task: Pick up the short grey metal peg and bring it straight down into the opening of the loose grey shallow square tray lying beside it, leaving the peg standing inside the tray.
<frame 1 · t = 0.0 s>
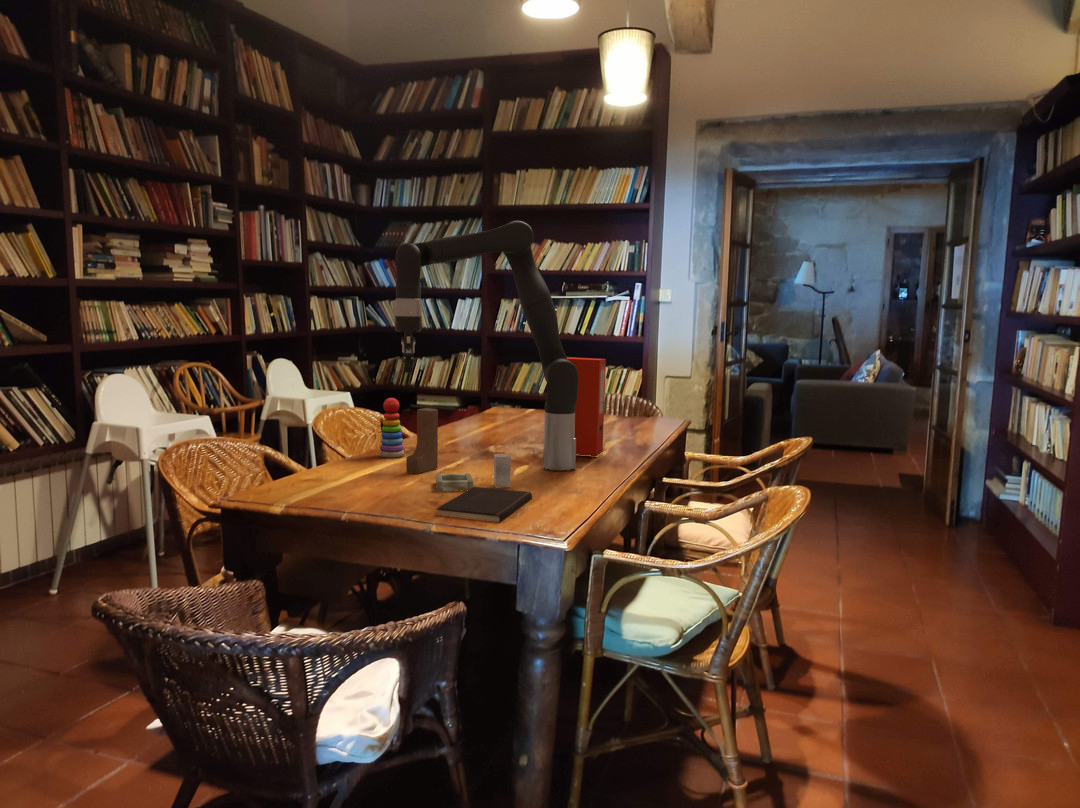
hand: (408, 371, 220), 29 cm above the table, tool pointing down, fingers open, 8 cm apart
wooden block: (422, 471, 224), on the table
file binder: (574, 454, 255), on the table
hardcover book: (486, 509, 186), on the table
stacking toy: (392, 456, 244), on the table
metal peg: (501, 486, 208), on the table
grey shallow square tray: (454, 486, 205), on the table
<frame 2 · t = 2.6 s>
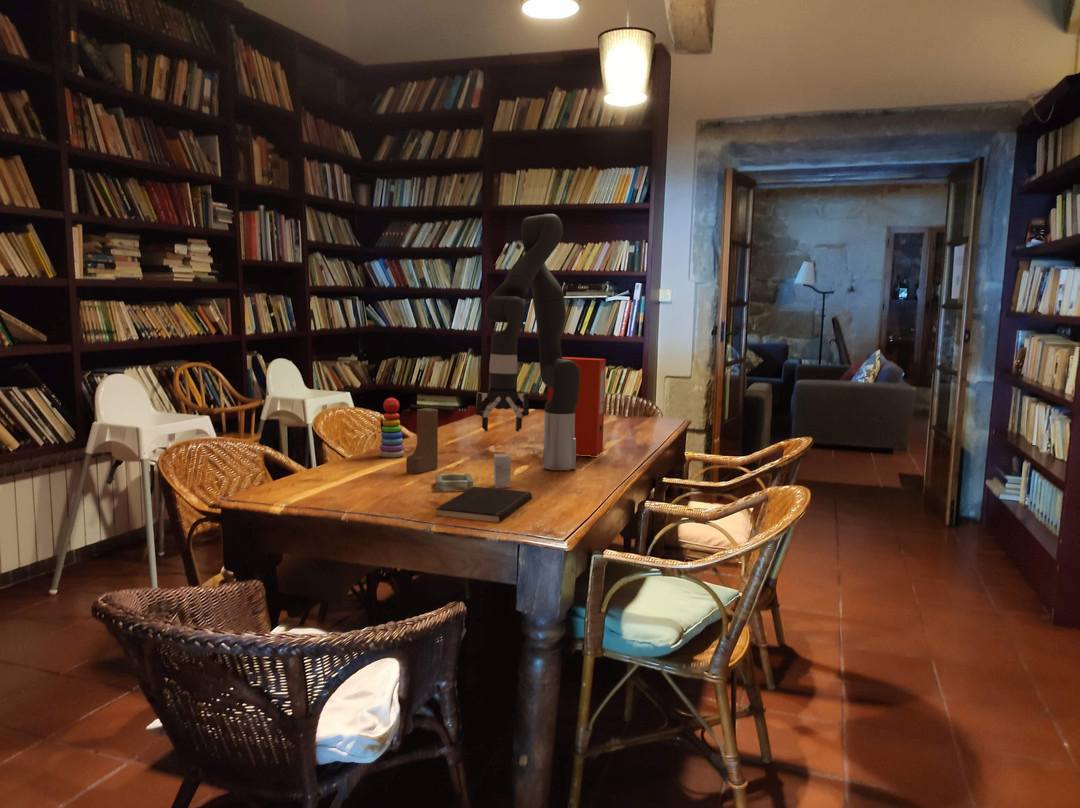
hand: (501, 431, 206), 15 cm above the table, tool pointing down, fingers open, 8 cm apart
nothing on the table moved.
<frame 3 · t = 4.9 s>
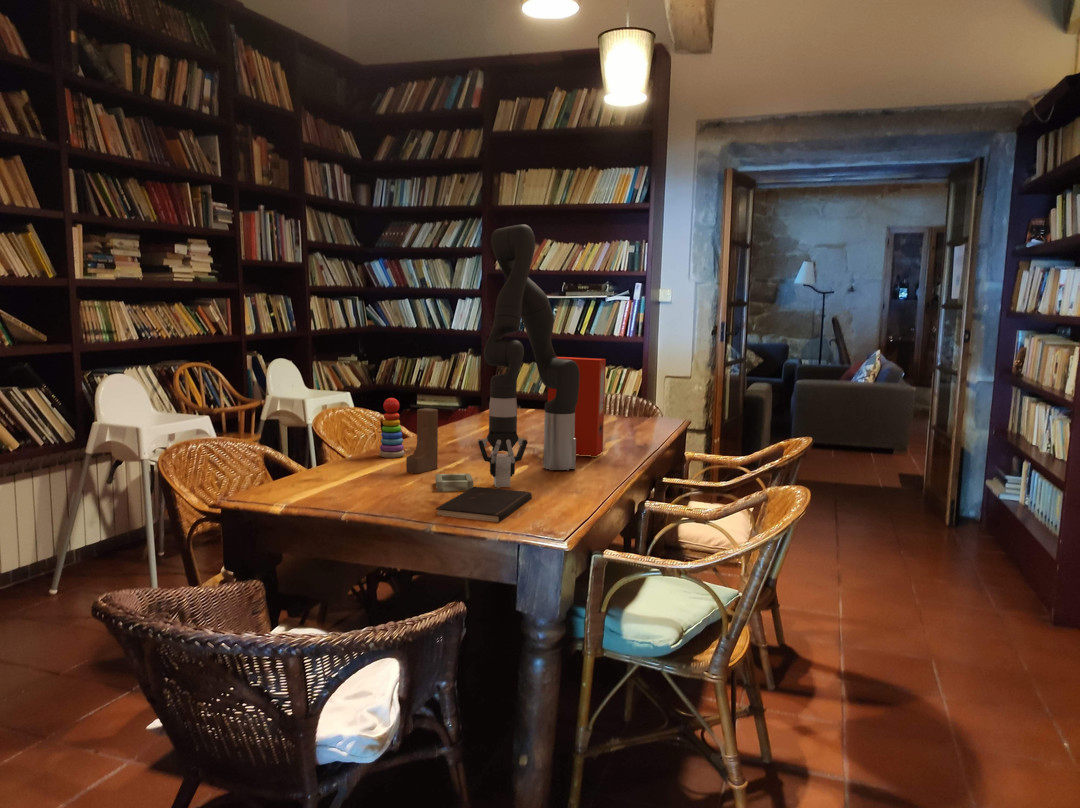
hand: (502, 475, 207), 3 cm above the table, tool pointing down, fingers closed on metal peg, 4 cm apart
metal peg: (502, 485, 208), on the table, touching gripper
everything else where it was.
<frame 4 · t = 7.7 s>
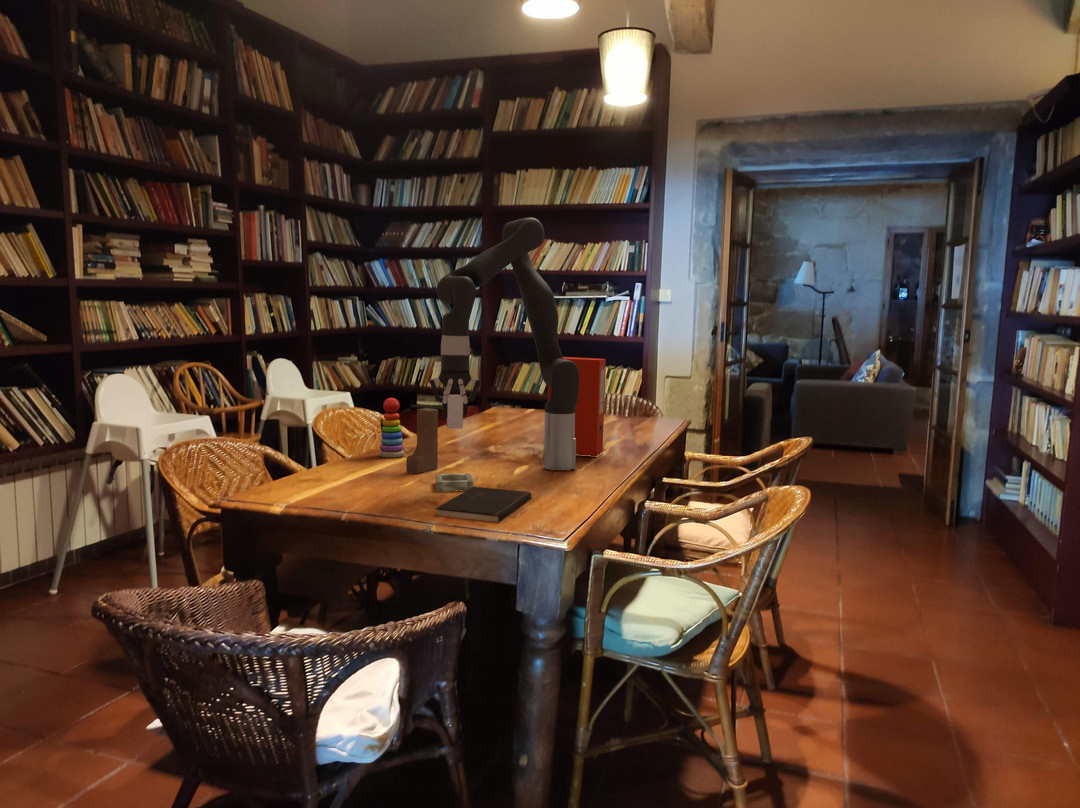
hand: (454, 416, 203), 19 cm above the table, tool pointing down, fingers closed on metal peg, 4 cm apart
metal peg: (454, 427, 203), point 16 cm above the table, touching gripper
everything else where it was.
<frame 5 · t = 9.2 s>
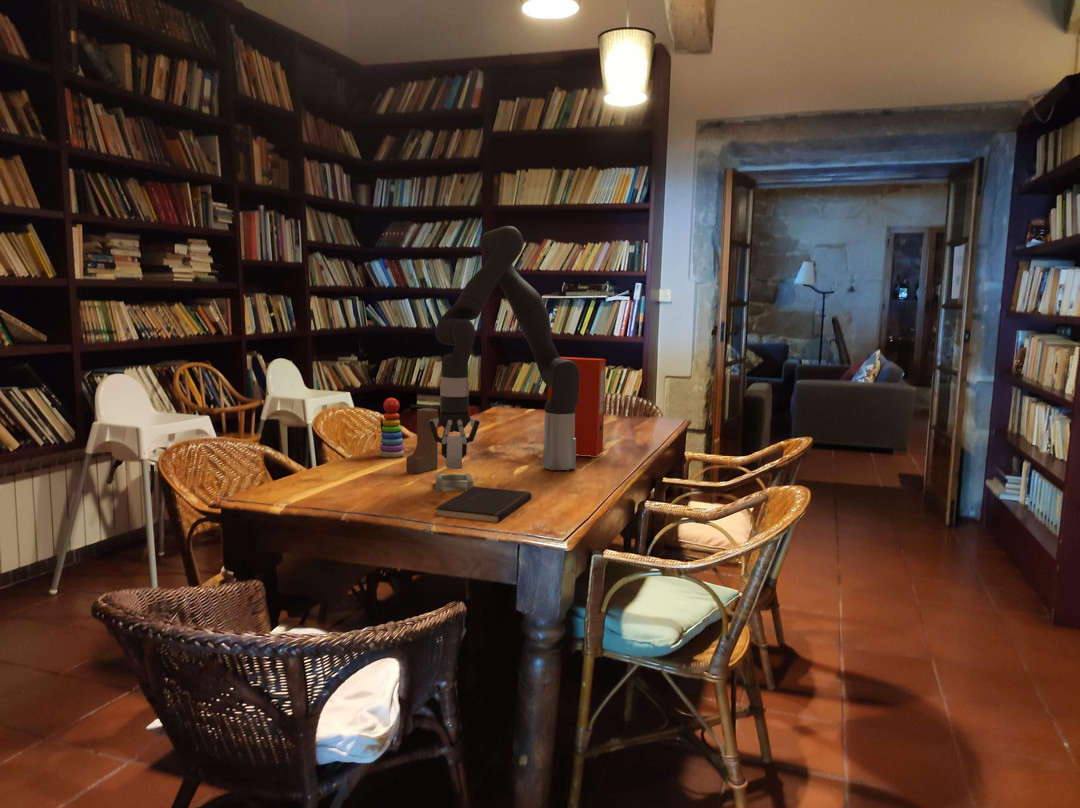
hand: (453, 457, 204), 8 cm above the table, tool pointing down, fingers closed on metal peg, 4 cm apart
metal peg: (453, 467, 205), point 5 cm above the table, touching gripper
everything else where it was.
when the fingers open (5 cm above the table, at t = 10.6 s): metal peg drops 2 cm, resting in grey shallow square tray.
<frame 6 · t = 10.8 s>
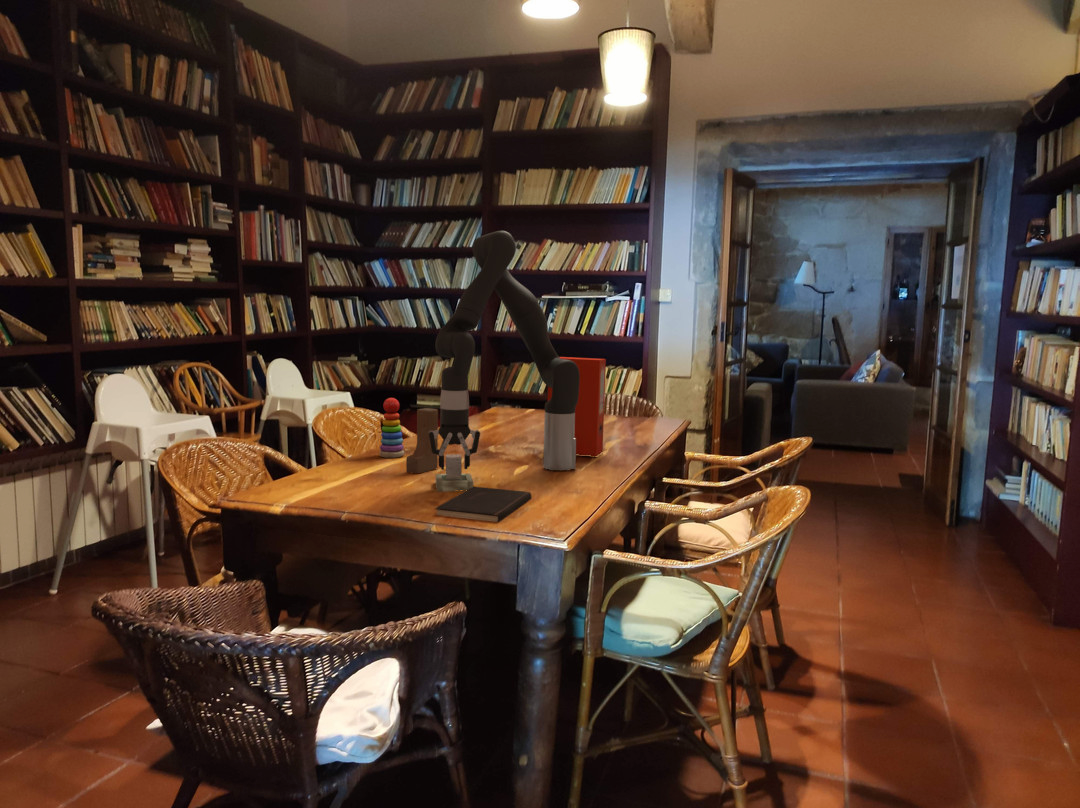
hand: (454, 468, 205), 5 cm above the table, tool pointing down, fingers open, 5 cm apart
metal peg: (453, 486, 205), resting in grey shallow square tray
everything else where it was.
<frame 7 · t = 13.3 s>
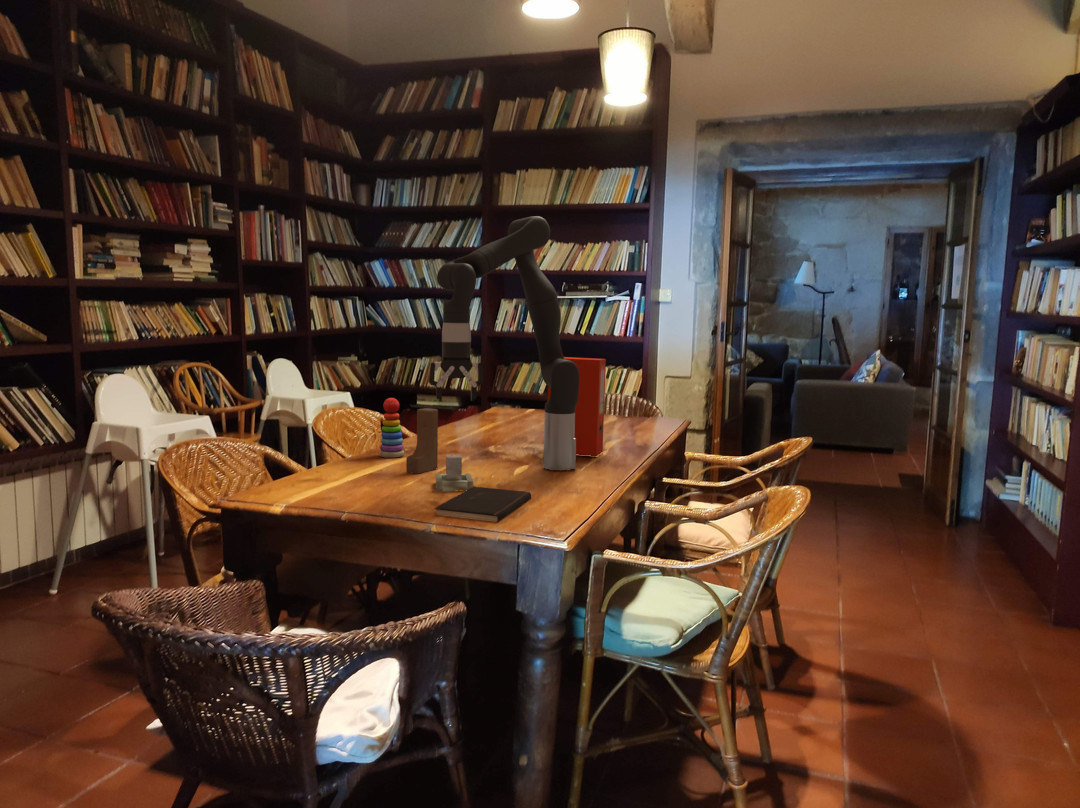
hand: (456, 401, 203), 23 cm above the table, tool pointing down, fingers open, 8 cm apart
nothing on the table moved.
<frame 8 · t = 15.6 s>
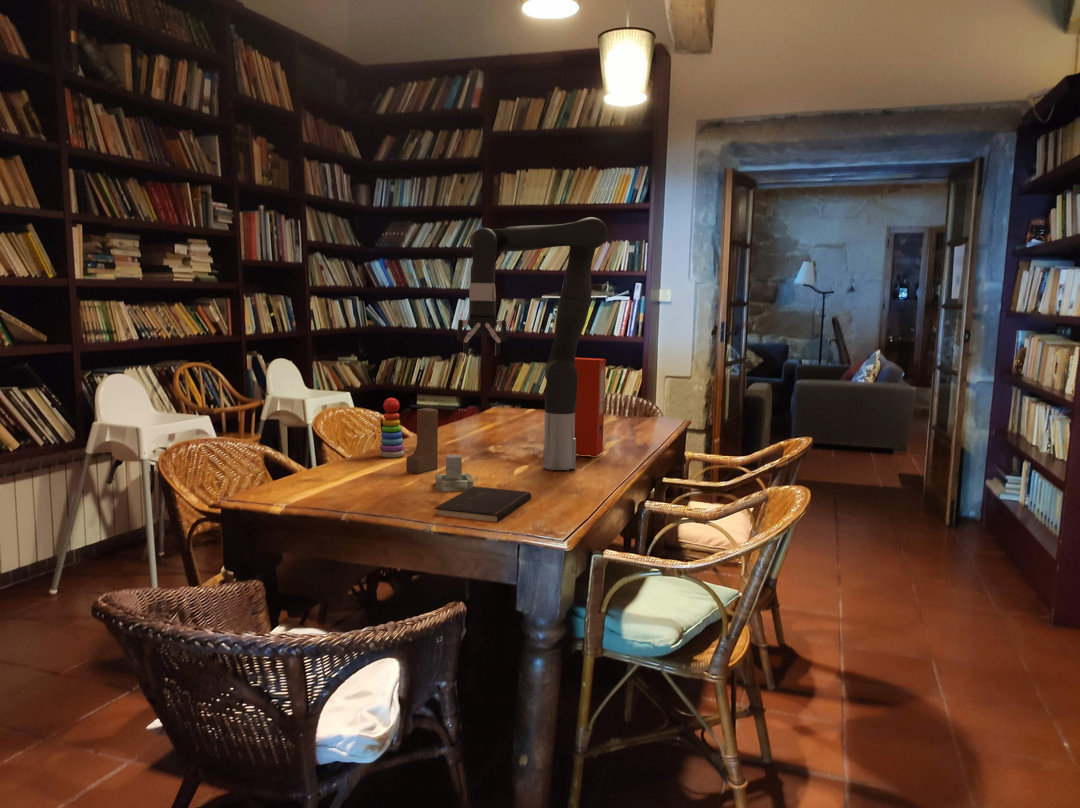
hand: (481, 355, 221), 34 cm above the table, tool pointing down, fingers open, 8 cm apart
nothing on the table moved.
at the end: metal peg 0.1 cm from the grey shallow square tray (horizontally); metal peg resting in grey shallow square tray; metal peg tilted 0° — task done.
